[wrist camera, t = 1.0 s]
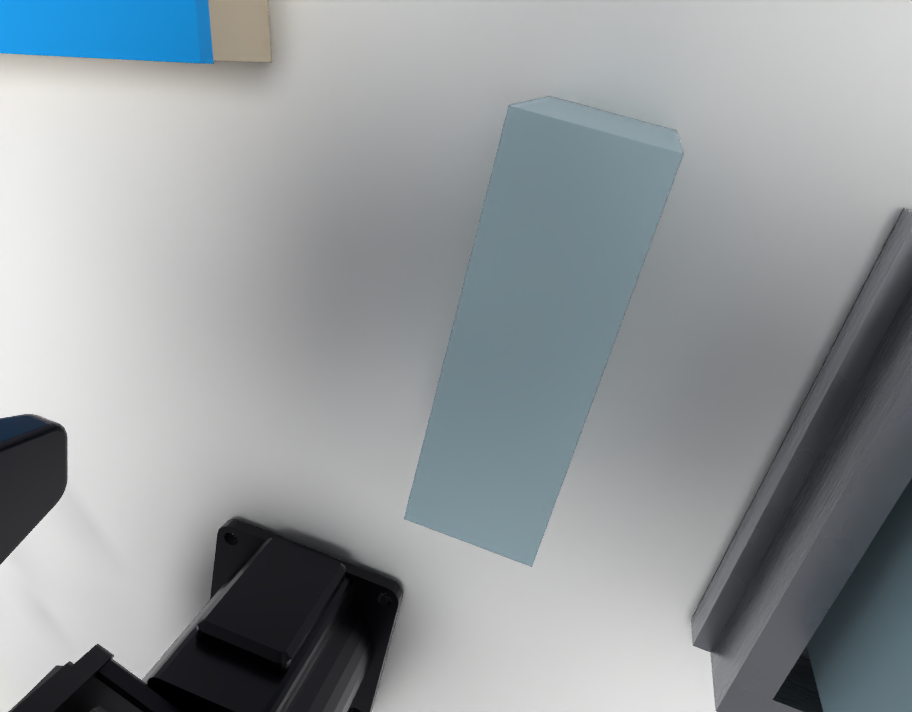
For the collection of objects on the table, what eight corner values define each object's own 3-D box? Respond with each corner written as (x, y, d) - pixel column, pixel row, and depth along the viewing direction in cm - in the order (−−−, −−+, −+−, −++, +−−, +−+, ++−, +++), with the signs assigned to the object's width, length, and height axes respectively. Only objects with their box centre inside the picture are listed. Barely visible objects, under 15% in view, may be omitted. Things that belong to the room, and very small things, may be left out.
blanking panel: (561, 454, 20) (531, 566, 15) (460, 419, 20) (403, 518, 16) (676, 130, 16) (683, 153, 11) (550, 96, 16) (509, 105, 12)
